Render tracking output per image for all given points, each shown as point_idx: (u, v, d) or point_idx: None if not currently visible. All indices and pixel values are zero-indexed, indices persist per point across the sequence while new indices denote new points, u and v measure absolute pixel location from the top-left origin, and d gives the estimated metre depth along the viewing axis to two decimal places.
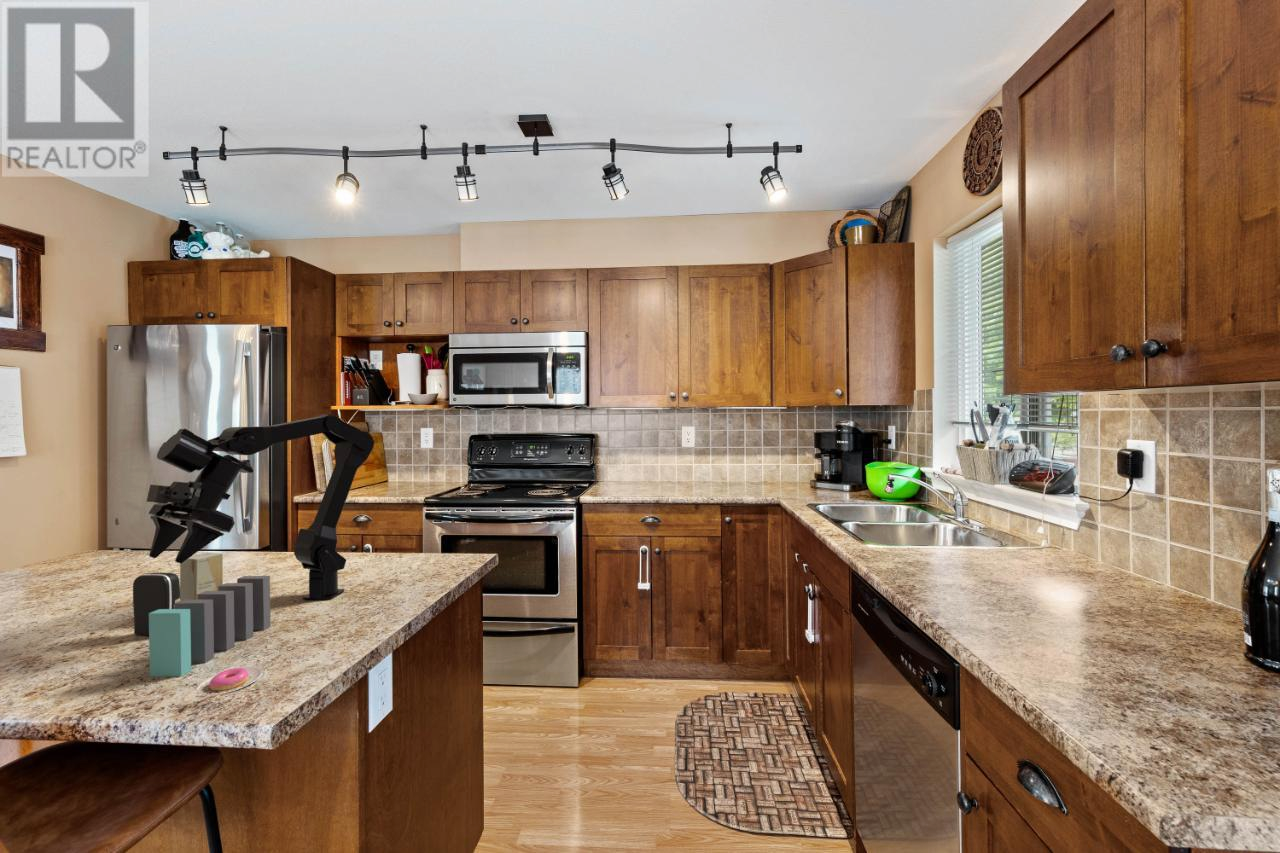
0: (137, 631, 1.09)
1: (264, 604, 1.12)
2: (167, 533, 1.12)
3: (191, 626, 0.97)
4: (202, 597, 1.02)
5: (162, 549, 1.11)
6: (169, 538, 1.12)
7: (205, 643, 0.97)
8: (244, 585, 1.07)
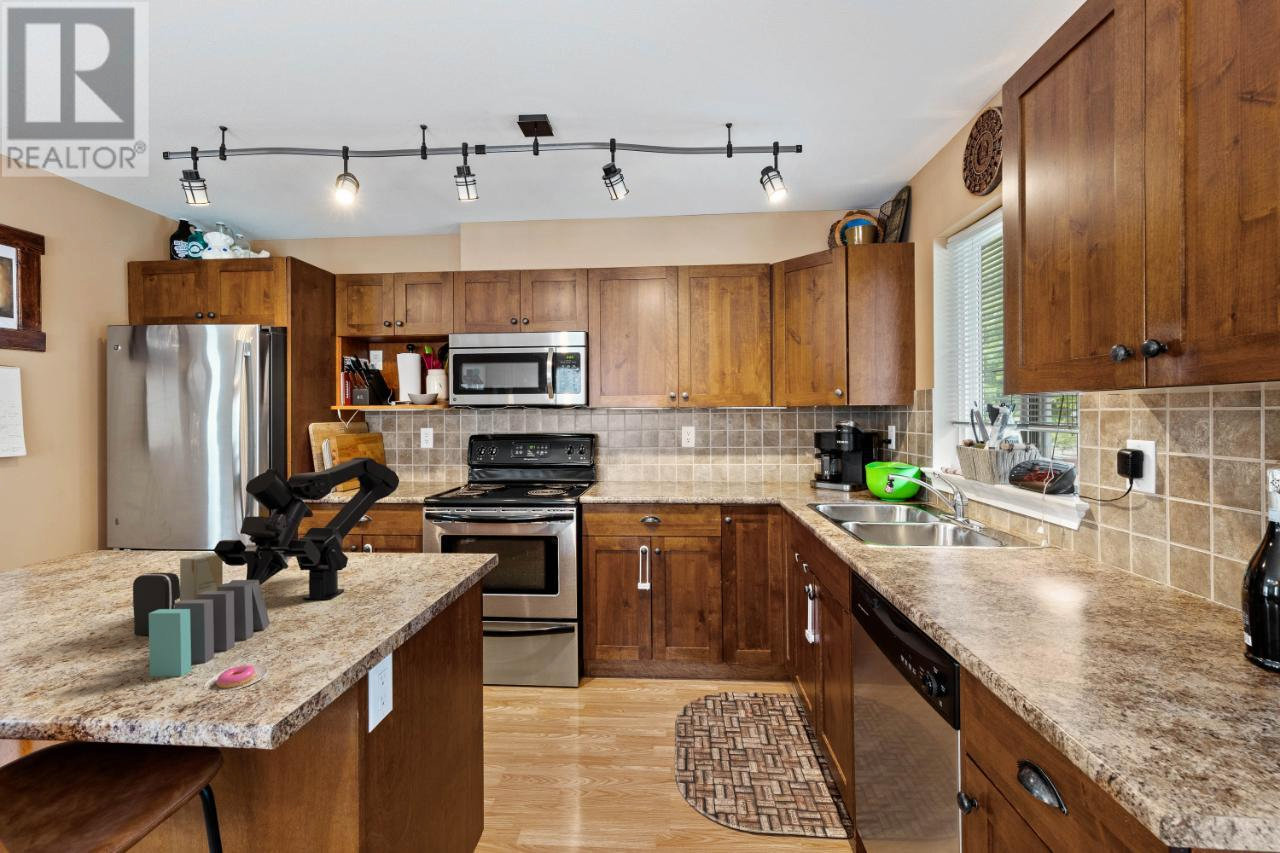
0: (137, 631, 1.09)
1: (258, 608, 1.10)
2: None
3: (191, 626, 0.97)
4: (202, 597, 1.02)
5: None
6: None
7: (205, 643, 0.97)
8: (243, 585, 1.07)
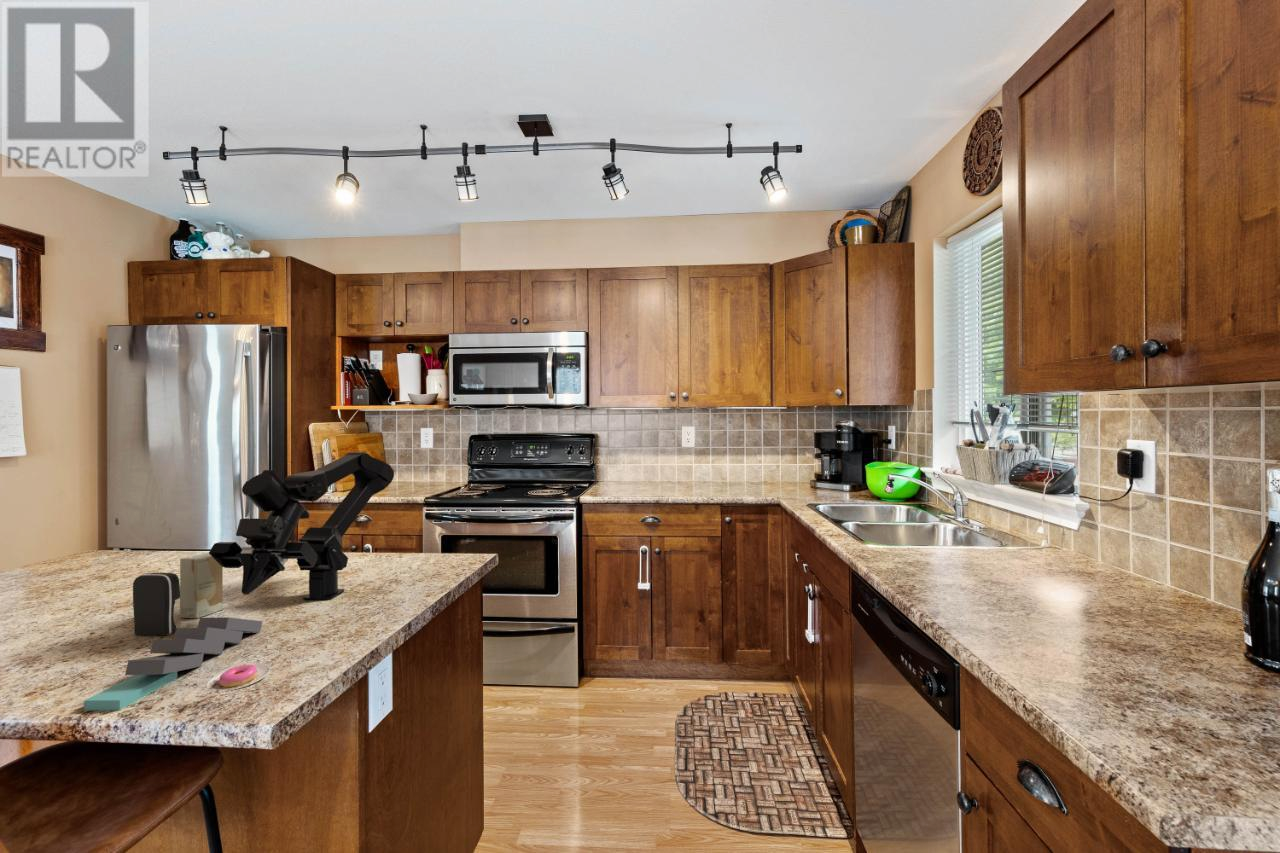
0: (137, 631, 1.09)
1: (243, 630, 1.06)
2: (254, 571, 1.14)
3: None
4: None
5: None
6: None
7: (189, 667, 0.93)
8: (202, 637, 0.97)
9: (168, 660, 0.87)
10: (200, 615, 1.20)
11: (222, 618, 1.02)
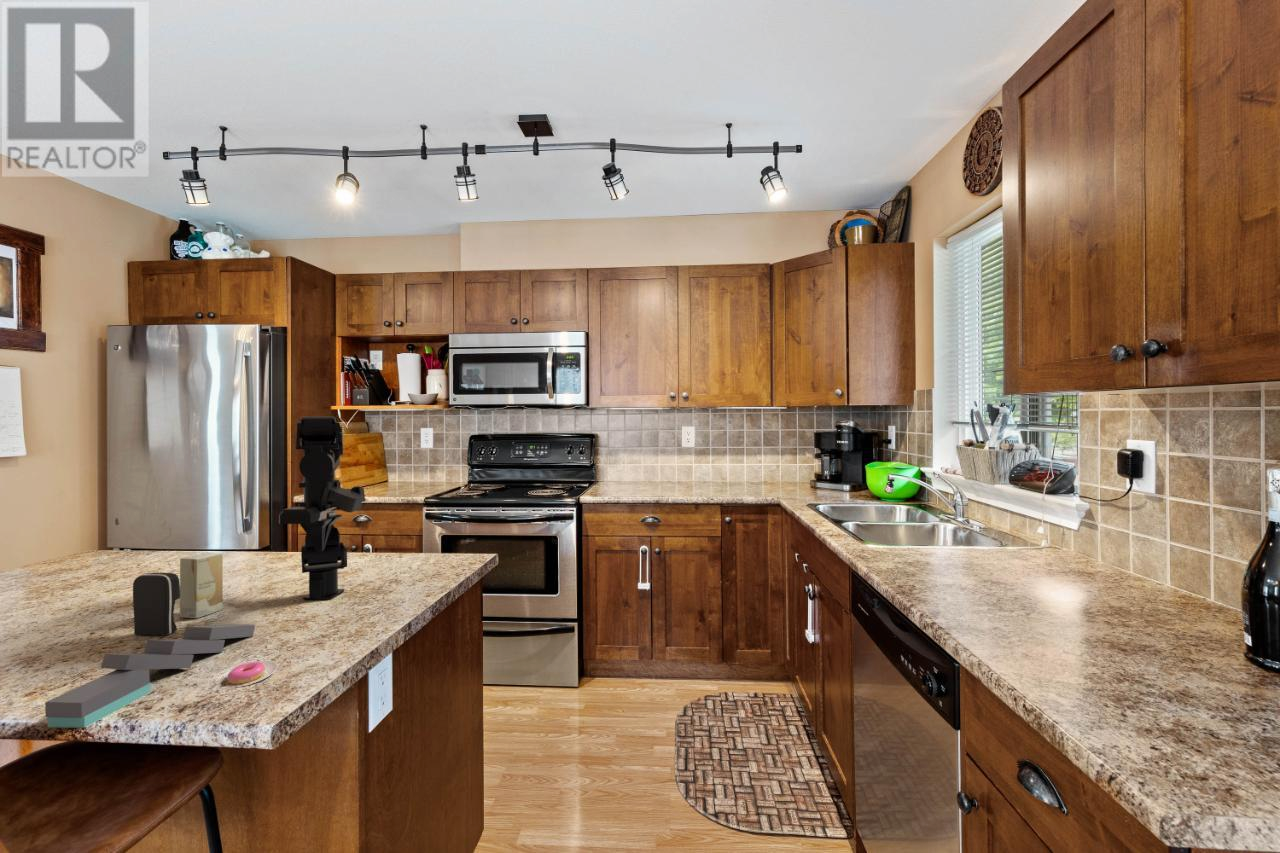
0: (137, 631, 1.09)
1: (232, 637, 1.04)
2: None
3: None
4: (108, 668, 0.87)
5: None
6: None
7: (129, 692, 0.83)
8: (169, 651, 0.92)
9: (87, 701, 0.77)
10: (200, 615, 1.20)
11: (206, 628, 1.00)
